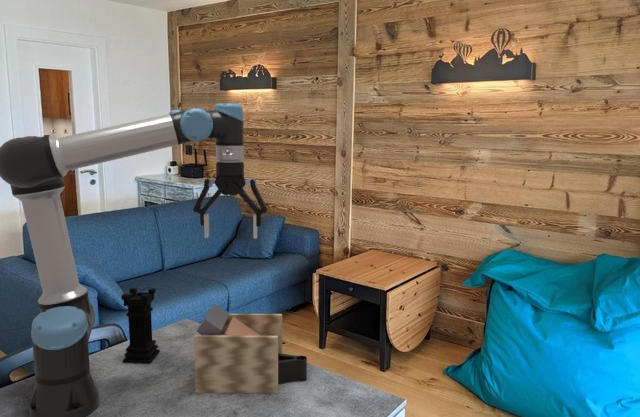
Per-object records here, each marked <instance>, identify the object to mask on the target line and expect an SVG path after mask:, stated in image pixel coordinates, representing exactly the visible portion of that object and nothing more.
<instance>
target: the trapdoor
mask: <svg viewBox="0 0 640 417" xmlns="http://www.w3.org/2000/svg"><path fill="white" fill-rule="evenodd" d="M228 316H229V313H228V312H227V311H226V310H224V309H223V308H222V307H220V306H219V305H217V304H216V303H214V304H213V305H212V306H211V307H210V309H209V311H208V312H207V313H206V314H205V316H204V318H203V319H202V321H201V323H200V325H199V326H198V328H197V330H196V333H197V334H198V335H218V334H219V333H220V332H221V330H222V328H223V326H224V324H225V322H226V320H227V318H228ZM224 335H253V336H260V335H259V334H257V333H256V332H255V331H253V330H252V329H250V328H249V327H247V326H246V325H245V324H243V323H242V322H240V321H239V320H237V319H236V318H234V317H232V319H231V321H230V323H229V325H228V327H227V329H226V332H225V334H224Z"/></svg>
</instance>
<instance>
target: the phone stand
mask: <svg viewBox="0 0 640 417" xmlns="http://www.w3.org/2000/svg"><path fill="white" fill-rule="evenodd" d="M307 365H308V358H307V356H306V355H294V354H287V353H282V354H281V353H278V385H281V384H287V383H292V382H293V383H294V382H306V381H307V380H308V378H307V376H308V374H307V373H308V372H307V371H308V370H307V368H308V366H307Z"/></svg>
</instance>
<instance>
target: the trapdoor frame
mask: <svg viewBox="0 0 640 417" xmlns="http://www.w3.org/2000/svg"><path fill="white" fill-rule="evenodd" d="M232 317H234V318H236V319H237V320H239V321H240V322H242V323H243V324H245V325H246V326H247V327H249V328H250V329H252V330H253V331H255V332H256V333H257V334H259V335H260V336H253V335H224V334H225V332H226V329H227V327H228V325H229V323H230V321H231V319H232ZM193 340H194V341H193V342H194V343H193V344H194V346H193V350H194V379H195V380H194V384H195V387H194V388H195V393H196V394H199V393H200V394H201V393H202V394H279V384H278V353H281V354H283V314H282V313H229V316H228V318H227V320H226V322H225V324H224V326H223V328H222V330H221V332H220V333H219V334H218V335H201V334H195V335H194V336H193Z"/></svg>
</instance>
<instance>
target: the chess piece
mask: <svg viewBox="0 0 640 417" xmlns="http://www.w3.org/2000/svg"><path fill="white" fill-rule="evenodd" d="M156 290H157V288H156V287H151V288H149V289H148V292H146V291H145V292H144V291H141V292H140V291H138V287H130V288H129V290H128V291H129V293H123V294H121V295H120V296H121V300H123V306H124V307H127V310H128V311H127V312H126V317H128V318H127V319H128V333H129V334H128V335H129V336H128V337H129V345H128V346H127V347H126V348H125V351H126V352H125V354H123V355H124V358H123V360H122V364H143V365H144V364H146V365H147V364H148V365H150V364H152V363H153V362H154V360H155V359H156V357H157V356H158V355H159V353H160V352H161V349H160V348H159V345H158V344H156V343H157V340H154V339H153V331H152V330H153V328H152V327H153V326H152V325H153V324H152V312H153V311H154V307H153V306H152V305H151V304H152V302H153V301H154V300H155V294H156V292H157V291H156Z"/></svg>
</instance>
